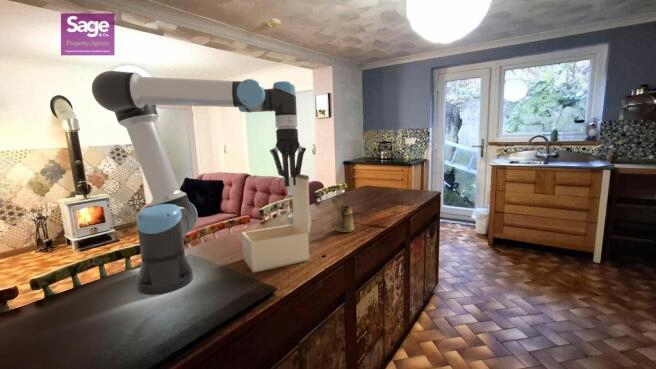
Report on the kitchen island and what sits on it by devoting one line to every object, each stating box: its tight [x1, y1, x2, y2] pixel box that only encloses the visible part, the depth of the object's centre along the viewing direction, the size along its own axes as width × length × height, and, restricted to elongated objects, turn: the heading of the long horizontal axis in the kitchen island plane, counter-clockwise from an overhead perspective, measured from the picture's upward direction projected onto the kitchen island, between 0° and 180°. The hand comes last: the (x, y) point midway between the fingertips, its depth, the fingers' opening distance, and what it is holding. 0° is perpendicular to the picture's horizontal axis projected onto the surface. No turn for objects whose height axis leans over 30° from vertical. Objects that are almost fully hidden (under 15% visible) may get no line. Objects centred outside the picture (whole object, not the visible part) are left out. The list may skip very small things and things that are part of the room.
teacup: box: [287, 213, 312, 230], centre depth 147 cm, size 14×11×8 cm
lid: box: [292, 173, 311, 234], centre depth 113 cm, size 20×14×1 cm
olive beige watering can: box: [331, 195, 355, 233], centre depth 142 cm, size 9×14×18 cm, turn 150°
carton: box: [241, 224, 310, 274], centre depth 110 cm, size 20×14×10 cm
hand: (290, 194), depth 111 cm, fingers closed
